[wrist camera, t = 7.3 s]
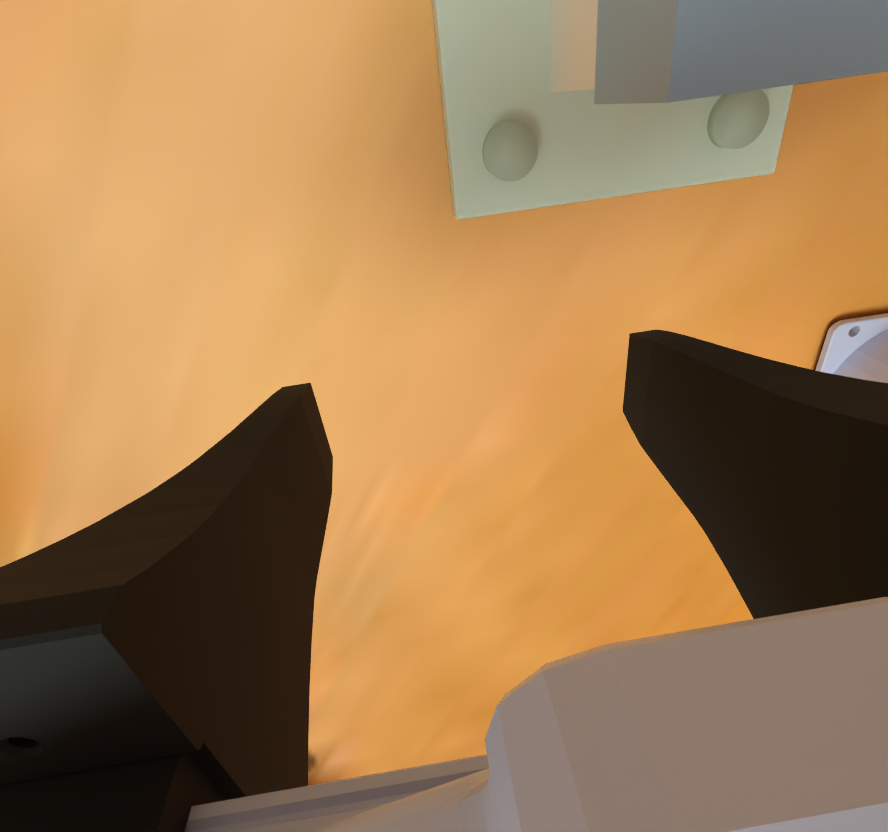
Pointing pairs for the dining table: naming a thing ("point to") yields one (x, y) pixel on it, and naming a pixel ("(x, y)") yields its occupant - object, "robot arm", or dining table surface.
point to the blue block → (732, 46)
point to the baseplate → (576, 122)
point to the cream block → (573, 44)
